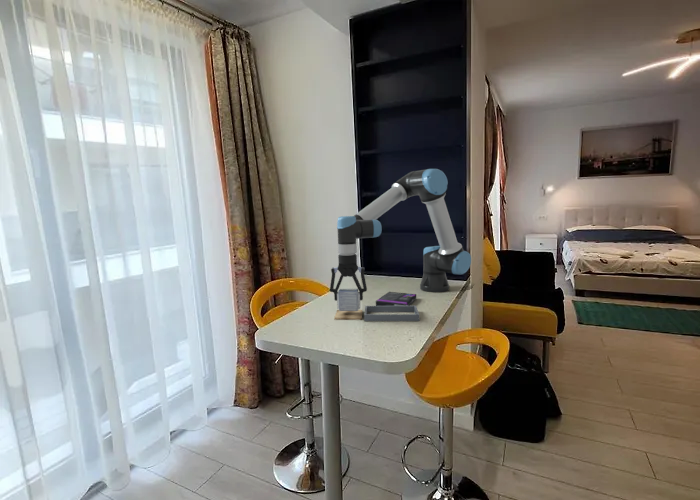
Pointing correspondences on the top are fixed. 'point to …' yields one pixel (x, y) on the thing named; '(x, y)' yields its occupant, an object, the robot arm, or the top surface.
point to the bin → (391, 316)
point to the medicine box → (348, 299)
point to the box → (396, 299)
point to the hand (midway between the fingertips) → (348, 307)
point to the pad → (348, 315)
